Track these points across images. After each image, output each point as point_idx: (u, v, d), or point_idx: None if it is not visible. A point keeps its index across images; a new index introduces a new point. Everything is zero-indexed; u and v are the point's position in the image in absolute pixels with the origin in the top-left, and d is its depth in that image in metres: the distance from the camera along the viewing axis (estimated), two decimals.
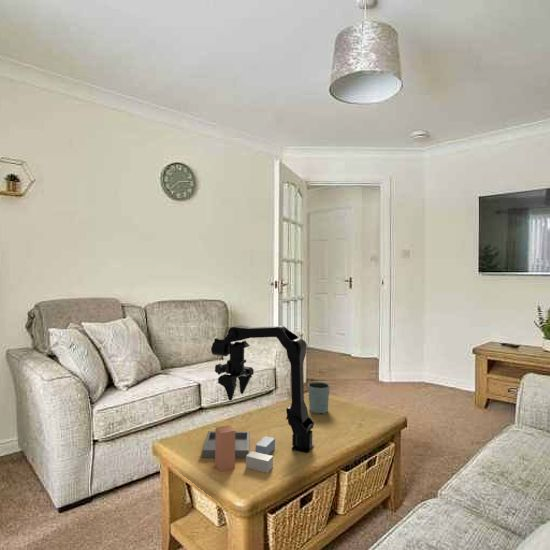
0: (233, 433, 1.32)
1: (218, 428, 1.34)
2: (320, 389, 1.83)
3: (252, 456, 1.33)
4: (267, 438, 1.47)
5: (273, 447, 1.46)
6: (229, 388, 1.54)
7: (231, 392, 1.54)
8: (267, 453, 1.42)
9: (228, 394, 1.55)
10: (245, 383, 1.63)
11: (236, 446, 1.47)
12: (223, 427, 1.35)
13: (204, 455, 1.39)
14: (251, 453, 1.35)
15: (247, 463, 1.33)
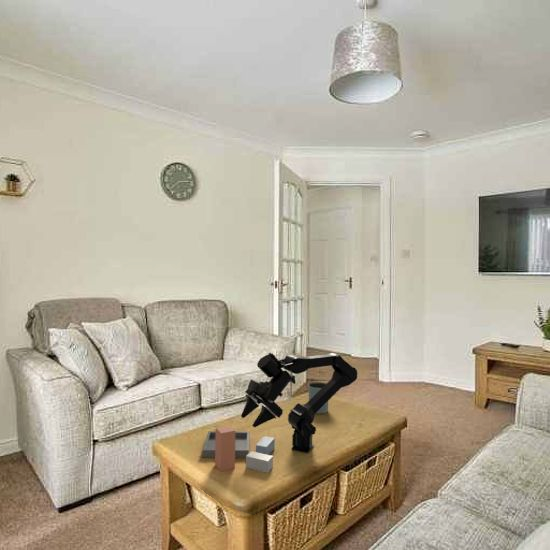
0: (233, 433, 1.32)
1: (218, 428, 1.34)
2: (320, 389, 1.83)
3: (252, 456, 1.33)
4: (267, 438, 1.47)
5: (273, 447, 1.46)
6: (265, 416, 1.34)
7: (264, 421, 1.34)
8: (268, 453, 1.42)
9: (258, 420, 1.33)
10: (252, 409, 1.43)
11: (236, 446, 1.47)
12: (223, 427, 1.35)
13: (204, 455, 1.39)
14: (251, 453, 1.35)
15: (247, 463, 1.33)
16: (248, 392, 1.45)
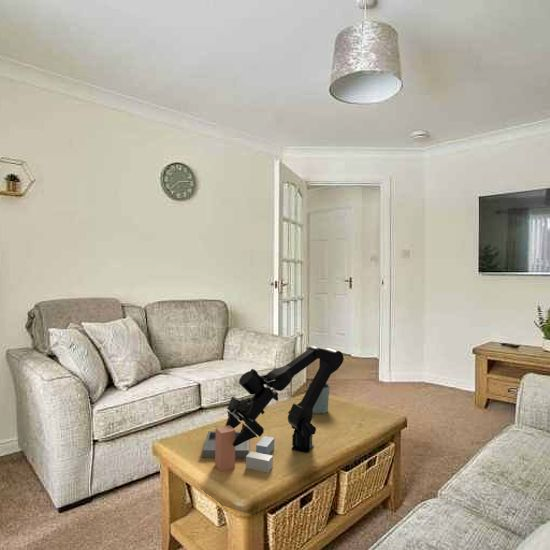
0: (233, 433, 1.32)
1: (218, 428, 1.34)
2: None
3: (252, 457, 1.32)
4: (267, 438, 1.47)
5: (273, 447, 1.46)
6: (245, 434, 1.30)
7: (244, 440, 1.30)
8: (268, 453, 1.42)
9: (238, 439, 1.30)
10: (233, 427, 1.40)
11: (236, 446, 1.47)
12: (223, 427, 1.35)
13: (204, 455, 1.39)
14: (251, 453, 1.35)
15: (247, 463, 1.33)
16: (230, 409, 1.41)
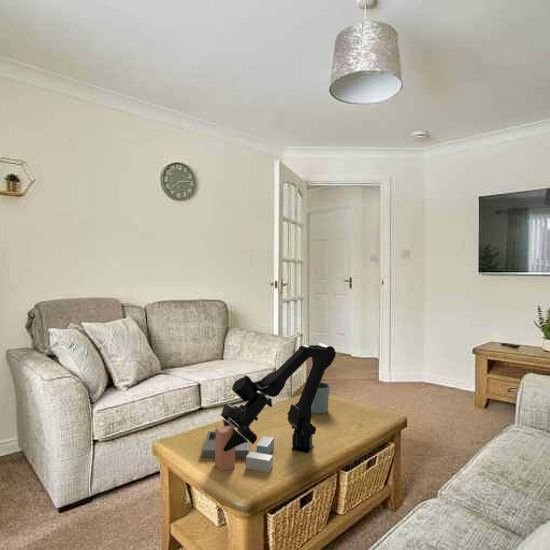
0: None
1: (218, 428, 1.34)
2: (320, 389, 1.83)
3: (253, 457, 1.32)
4: (267, 438, 1.47)
5: (272, 447, 1.47)
6: (236, 440, 1.31)
7: (235, 445, 1.31)
8: (268, 453, 1.42)
9: (229, 445, 1.30)
10: None
11: (236, 446, 1.47)
12: (223, 427, 1.35)
13: (204, 455, 1.39)
14: (250, 453, 1.35)
15: (247, 464, 1.32)
16: (223, 415, 1.40)
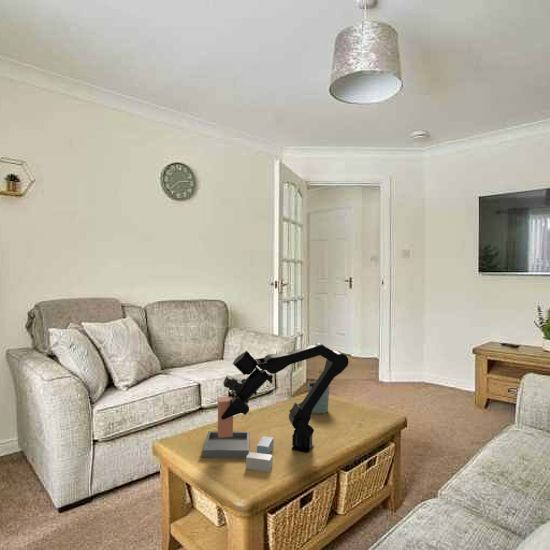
0: None
1: (219, 398, 1.44)
2: None
3: (253, 457, 1.32)
4: (266, 438, 1.47)
5: (272, 446, 1.47)
6: (232, 409, 1.39)
7: (231, 414, 1.39)
8: (269, 452, 1.42)
9: (226, 413, 1.39)
10: None
11: (236, 446, 1.47)
12: (225, 397, 1.44)
13: (204, 455, 1.39)
14: (250, 454, 1.34)
15: (247, 464, 1.32)
16: (229, 388, 1.50)
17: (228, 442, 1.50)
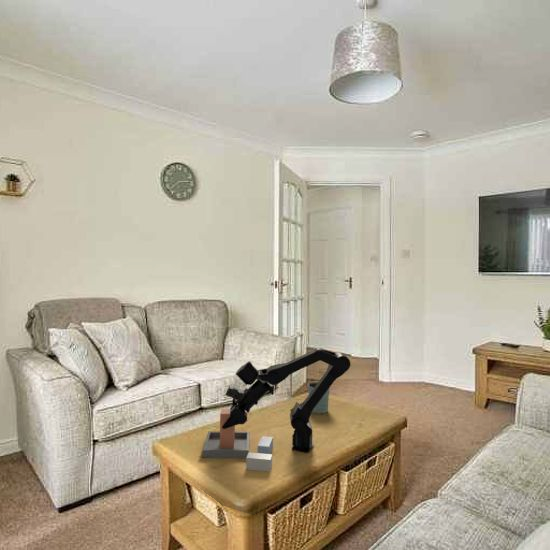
0: None
1: (223, 409, 1.49)
2: None
3: (253, 457, 1.32)
4: (266, 438, 1.47)
5: (272, 446, 1.47)
6: (233, 420, 1.42)
7: (231, 424, 1.42)
8: (269, 452, 1.42)
9: (226, 423, 1.42)
10: None
11: (236, 446, 1.47)
12: (228, 409, 1.49)
13: (204, 455, 1.39)
14: (250, 454, 1.34)
15: (248, 465, 1.32)
16: None
17: None
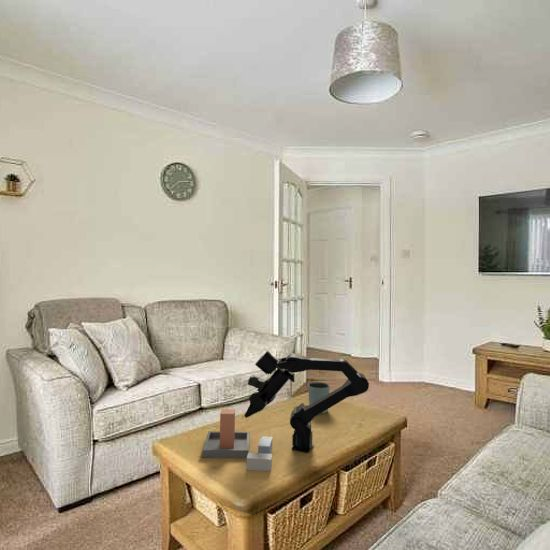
0: (232, 416, 1.45)
1: (223, 409, 1.49)
2: (320, 389, 1.83)
3: (253, 457, 1.32)
4: (265, 438, 1.47)
5: (271, 446, 1.47)
6: (253, 407, 1.44)
7: (252, 412, 1.43)
8: (270, 452, 1.42)
9: (248, 411, 1.44)
10: None
11: (236, 446, 1.47)
12: (228, 409, 1.49)
13: (204, 455, 1.39)
14: (249, 455, 1.34)
15: (248, 465, 1.32)
16: None
17: None
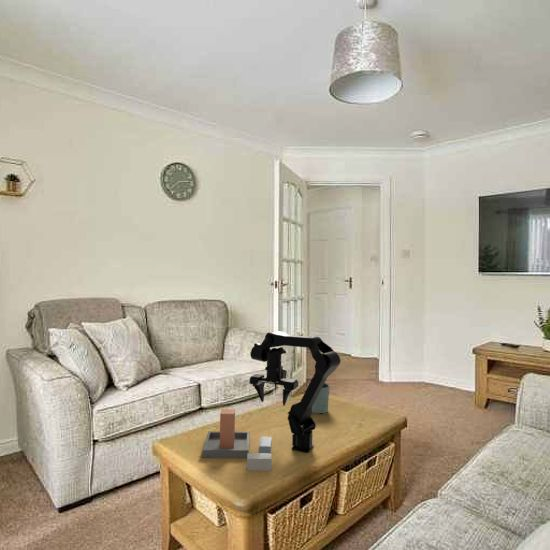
0: (232, 416, 1.45)
1: (223, 409, 1.49)
2: None
3: (254, 458, 1.32)
4: (265, 438, 1.47)
5: (271, 446, 1.47)
6: None
7: None
8: (270, 452, 1.42)
9: None
10: None
11: (236, 446, 1.47)
12: (228, 409, 1.49)
13: (204, 455, 1.39)
14: (249, 455, 1.34)
15: (248, 466, 1.31)
16: None
17: None
